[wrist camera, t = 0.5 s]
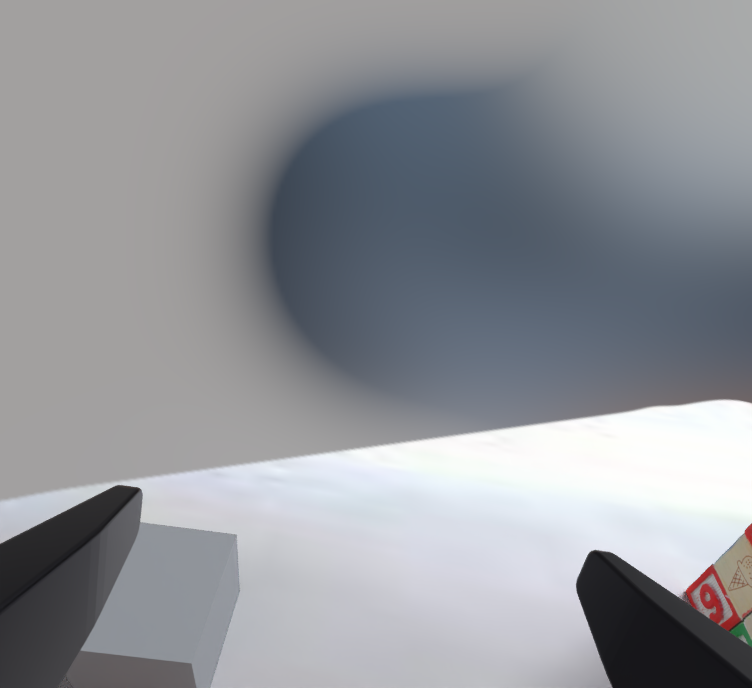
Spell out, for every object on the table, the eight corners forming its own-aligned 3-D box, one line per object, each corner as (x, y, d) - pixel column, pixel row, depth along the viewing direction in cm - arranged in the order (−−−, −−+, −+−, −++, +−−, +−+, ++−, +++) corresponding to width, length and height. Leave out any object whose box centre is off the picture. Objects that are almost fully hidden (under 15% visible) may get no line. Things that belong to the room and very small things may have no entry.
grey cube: (202, 714, 18) (191, 663, 15) (80, 700, 18) (47, 646, 15) (239, 591, 22) (236, 534, 19) (141, 579, 22) (124, 520, 19)
